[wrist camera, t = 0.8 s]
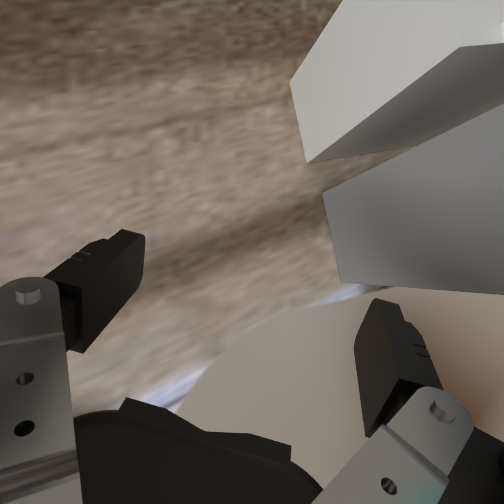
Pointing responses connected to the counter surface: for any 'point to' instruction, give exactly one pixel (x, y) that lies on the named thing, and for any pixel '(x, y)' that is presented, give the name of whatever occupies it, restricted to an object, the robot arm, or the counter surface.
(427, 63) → the white open box
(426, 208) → the tall grey pillar
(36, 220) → the counter surface
